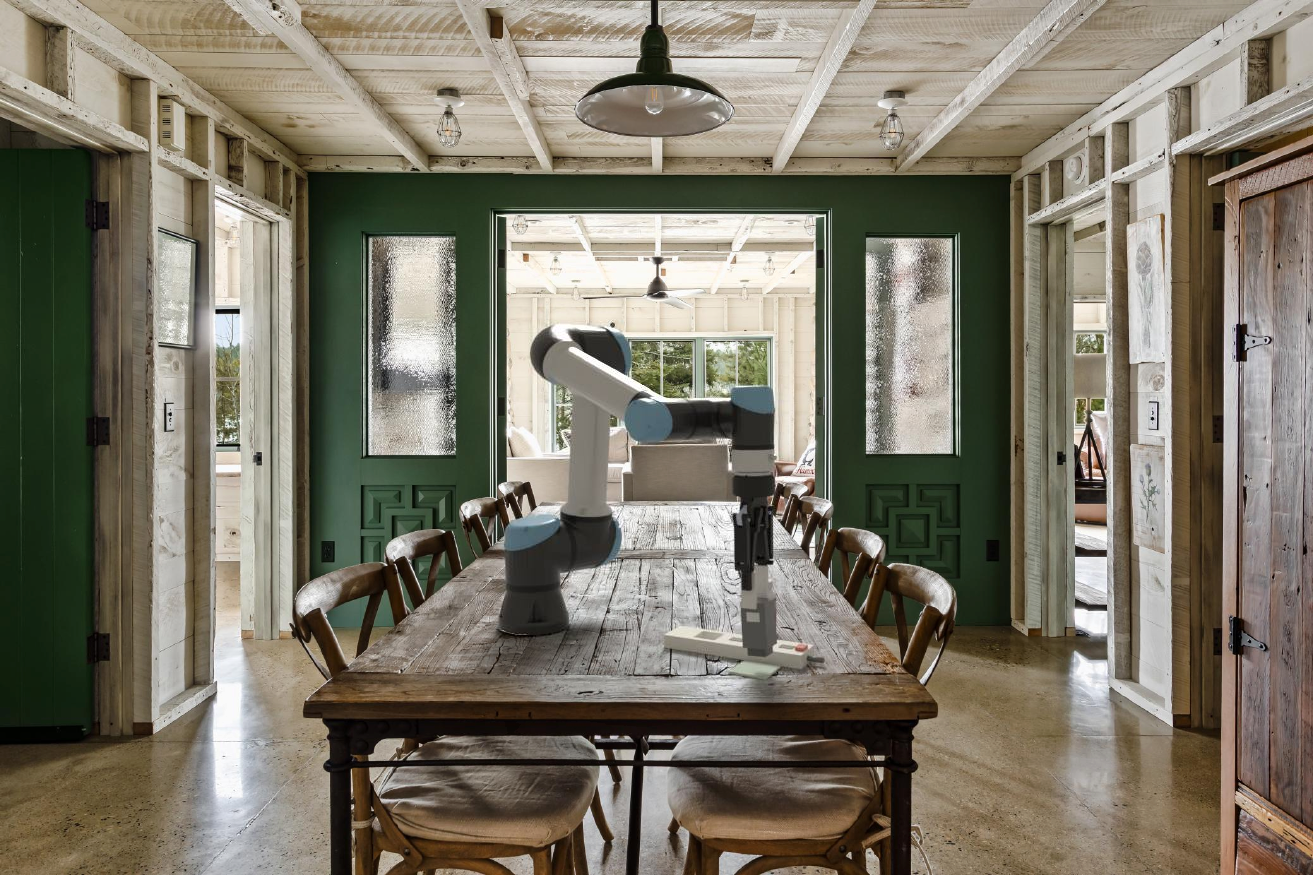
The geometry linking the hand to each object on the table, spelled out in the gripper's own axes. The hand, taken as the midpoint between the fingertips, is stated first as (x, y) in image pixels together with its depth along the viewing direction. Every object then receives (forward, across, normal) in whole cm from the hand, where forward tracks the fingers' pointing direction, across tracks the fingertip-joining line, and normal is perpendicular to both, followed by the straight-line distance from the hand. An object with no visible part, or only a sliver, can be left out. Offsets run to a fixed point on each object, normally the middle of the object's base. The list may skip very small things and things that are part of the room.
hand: (755, 604), depth 145 cm
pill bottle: (+12, +23, +8) cm, 27 cm away
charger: (+9, 0, -1) cm, 9 cm away
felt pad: (+12, 0, 0) cm, 12 cm away
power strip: (+12, +8, +6) cm, 15 cm away
